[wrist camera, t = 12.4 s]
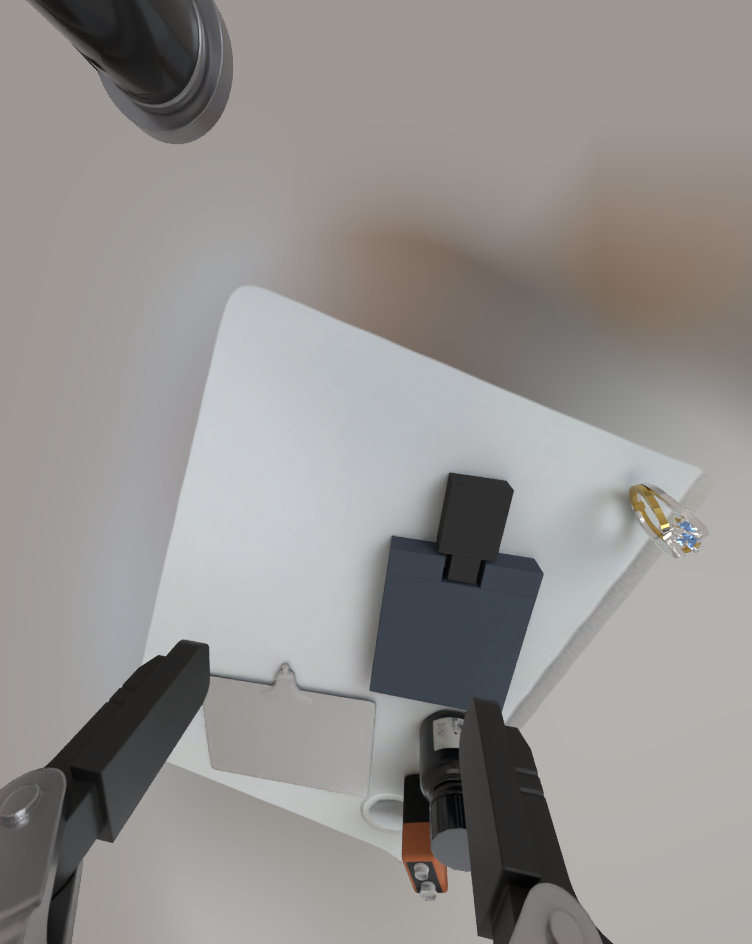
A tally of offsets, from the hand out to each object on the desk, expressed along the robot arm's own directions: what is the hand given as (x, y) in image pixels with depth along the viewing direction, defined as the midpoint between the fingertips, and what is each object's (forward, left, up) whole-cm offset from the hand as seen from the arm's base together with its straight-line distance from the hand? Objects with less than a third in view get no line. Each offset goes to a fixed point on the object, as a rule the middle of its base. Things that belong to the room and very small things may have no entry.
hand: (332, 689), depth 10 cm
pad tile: (+6, +9, -28) cm, 30 cm away
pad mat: (+19, +9, -28) cm, 35 cm away
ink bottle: (+37, +13, -28) cm, 48 cm away
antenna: (+42, -10, -28) cm, 52 cm away
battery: (+49, +11, -28) cm, 58 cm away
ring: (+1, +25, -28) cm, 38 cm away
